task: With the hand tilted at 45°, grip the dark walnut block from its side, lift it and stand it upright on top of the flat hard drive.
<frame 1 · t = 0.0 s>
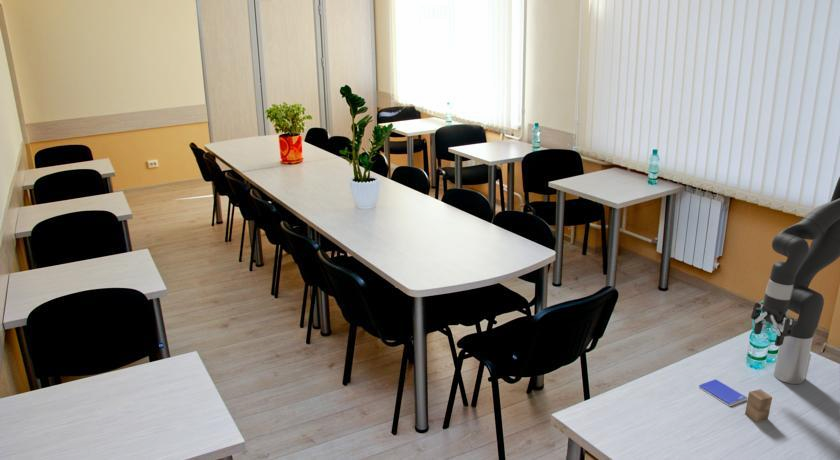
hand: (767, 339, 226), 17 cm above the table, tool pointing down, fingers open, 8 cm apart
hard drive: (722, 395, 228), on the table
walnut block: (756, 416, 215), on the table
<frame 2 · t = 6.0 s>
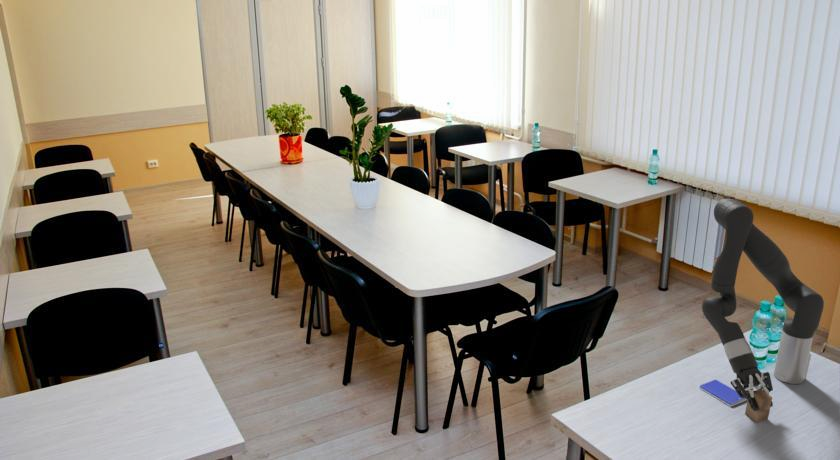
hand: (763, 408, 212), 4 cm above the table, tool tilted 45°, fingers closed on walnut block, 4 cm apart
walnut block: (756, 416, 215), on the table, touching gripper
everything else where it was.
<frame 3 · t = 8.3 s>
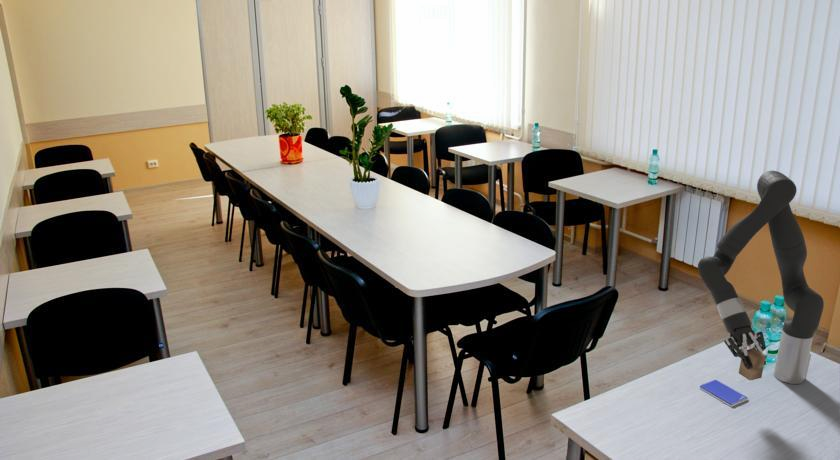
hand: (756, 366, 212), 16 cm above the table, tool tilted 45°, fingers closed on walnut block, 4 cm apart
walnut block: (749, 375, 215), point 12 cm above the table, touching gripper
everything else where it was.
when the fingers open (8 cm above the table, at t = 10.9 s): walnut block drops 3 cm, resting on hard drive.
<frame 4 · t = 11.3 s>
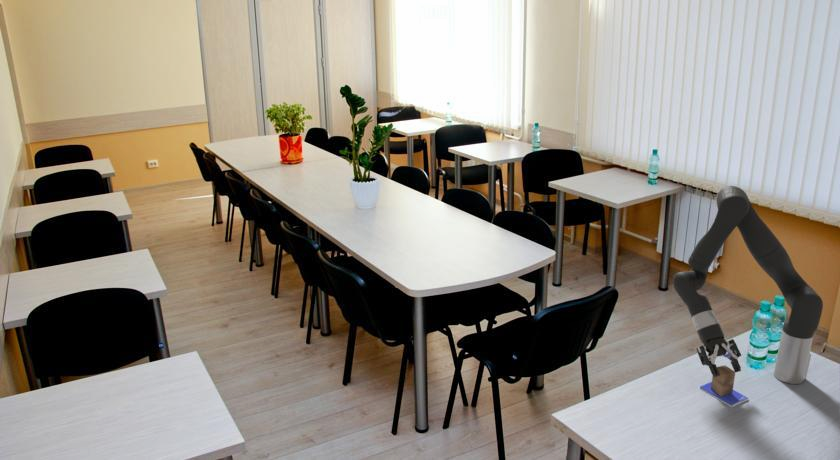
hand: (727, 373, 223), 8 cm above the table, tool tilted 45°, fingers open, 8 cm apart
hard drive: (723, 396, 227), on the table, touching walnut block
walnut block: (721, 391, 227), point 1 cm above the table, touching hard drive
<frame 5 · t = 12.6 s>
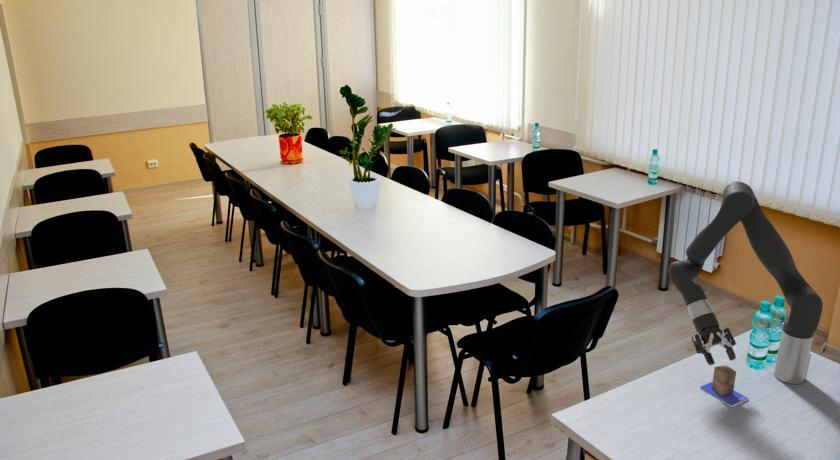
hand: (722, 362, 225), 11 cm above the table, tool tilted 45°, fingers open, 8 cm apart
nothing on the table moved.
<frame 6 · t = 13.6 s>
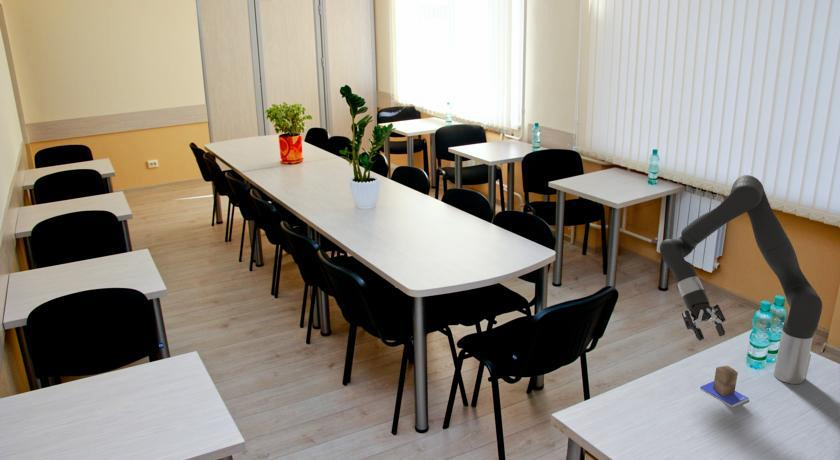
hand: (712, 337, 228), 17 cm above the table, tool tilted 45°, fingers open, 8 cm apart
nothing on the table moved.
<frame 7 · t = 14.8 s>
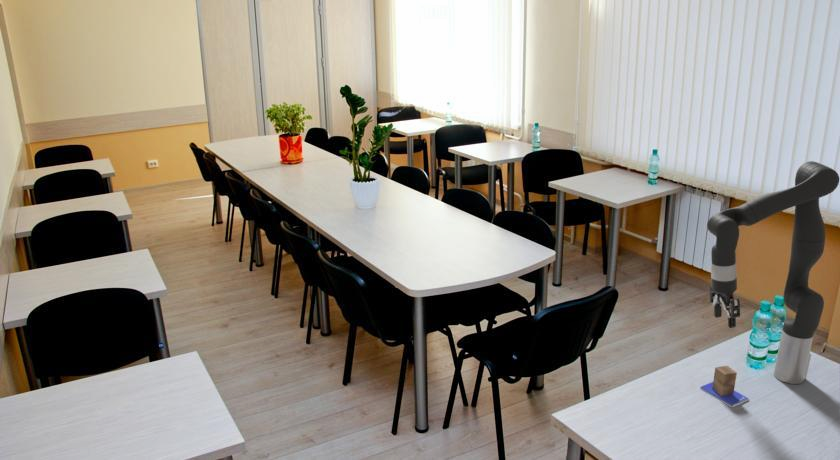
hand: (724, 321, 225), 23 cm above the table, tool pointing down, fingers open, 8 cm apart
nothing on the table moved.
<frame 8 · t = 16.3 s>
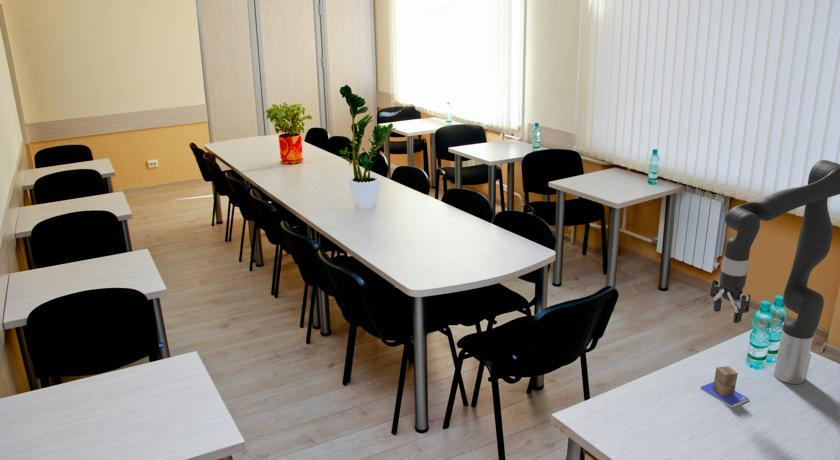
hand: (726, 316, 222), 26 cm above the table, tool pointing down, fingers open, 8 cm apart
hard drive: (723, 396, 227), on the table
walnut block: (723, 391, 227), point 1 cm above the table
at the end: walnut block 0.4 cm off-centre on the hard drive, point 1.8 cm above the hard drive's base; walnut block tilted 1°; walnut block touching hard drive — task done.
